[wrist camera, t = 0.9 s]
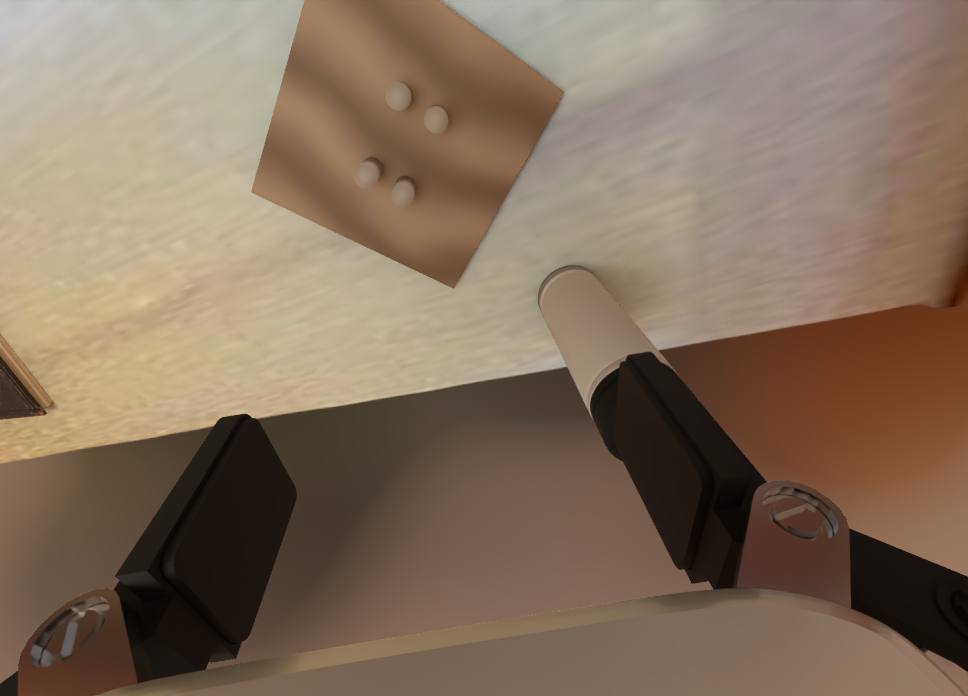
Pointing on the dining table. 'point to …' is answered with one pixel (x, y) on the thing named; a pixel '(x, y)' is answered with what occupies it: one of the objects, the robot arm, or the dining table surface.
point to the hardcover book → (19, 388)
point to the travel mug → (594, 341)
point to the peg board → (401, 129)
